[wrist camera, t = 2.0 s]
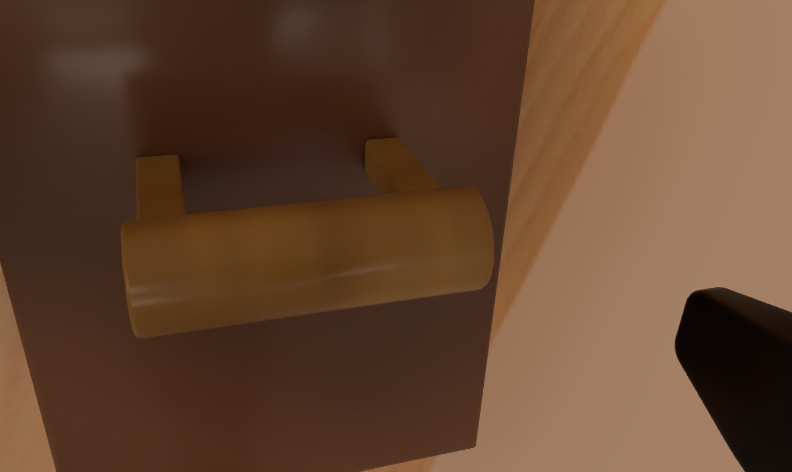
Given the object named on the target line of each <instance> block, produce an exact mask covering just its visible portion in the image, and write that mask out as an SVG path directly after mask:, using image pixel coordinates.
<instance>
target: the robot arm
mask: <svg viewBox="0 0 792 472" xmlns="http://www.w3.org/2000/svg"><path fill="white" fill-rule="evenodd" d="M675 351H676V355H677V358H678V360H679V362H680V364H681V365H682V367H683V369H684V371H685V372H686V374H687V376H688V377H689V379H690V381H691V383H692V384H693V386H694V388H695V390H696V391H697V393H698V395H699V397H700V398H701V400H702V401H703V403H704V405H705V407H706V409H707V410H708V412H709V414H710V415H711V417H712V419H713V420H714V422H715V424H716V426H717V428H718V429H719V431H720V433H721V435H722V436H723V438H724V440H725V441H726V443H727V445H728V446H729V448H730V450H731V451H732V453H733V454H734V456H735V458H736V459H737V461H738V462H739V464H740V465H741V467H742V468H743V469H744V471H745V472H792V312H789V311H786V310H784V309H781V308H778V307H776V306H773V305H770V304H767V303H765V302H762V301H759V300H756V299H754V298H751V297H748V296H745V295H743V294H740V293H737V292H735V291H732V290H729V289H726V288H721V287H715V288H709V289H704V290H697V291H695V292H693V293H691V295H690V296H689V297H688V298H687V301H686V304H685V308H684V311H683V314H682V318H681V321H680V325H679V328H678V332H677V335H676V339H675Z"/></svg>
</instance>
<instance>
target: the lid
mask: <svg viewBox="0 0 792 472" xmlns="http://www.w3.org/2000/svg"><path fill="white" fill-rule="evenodd" d="M533 8H534V0H0V262H1V266H2V270H3V274H4V277H5V281H6V285H7V289H8V292H9V296H10V300H11V304H12V307H13V311H14V315H15V319H16V322H17V326H18V330H19V334H20V337H21V341H22V345H23V349H24V352H25V356H26V360H27V364H28V367H29V371H30V375H31V379H32V382H33V386H34V390H35V394H36V397H37V401H38V405H39V408H40V412H41V416H42V420H43V423H44V427H45V431H46V435H47V438H48V442H49V446H50V450H51V453H52V457H53V461H54V465H55V468H56V472H359V471H364V470H369V469H374V468H379V467H383V466H388V465H393V464H398V463H403V462H407V461H412V460H417V459H422V458H427V457H431V456H436V455H441V454H446V453H451V452H455V451H460V450H465V449H470V448H474V447H475V446H476V440H477V432H478V425H479V417H480V410H481V401H482V394H483V387H484V379H485V371H486V364H487V357H488V349H489V341H490V334H491V326H492V319H493V311H494V304H495V296H496V288H497V281H498V273H499V266H500V258H501V250H502V243H503V235H504V228H505V220H506V213H507V205H508V197H509V190H510V182H511V175H512V167H513V159H514V152H515V144H516V137H517V129H518V122H519V114H520V106H521V99H522V91H523V84H524V76H525V68H526V61H527V53H528V46H529V38H530V31H531V23H532V15H533Z"/></svg>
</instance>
